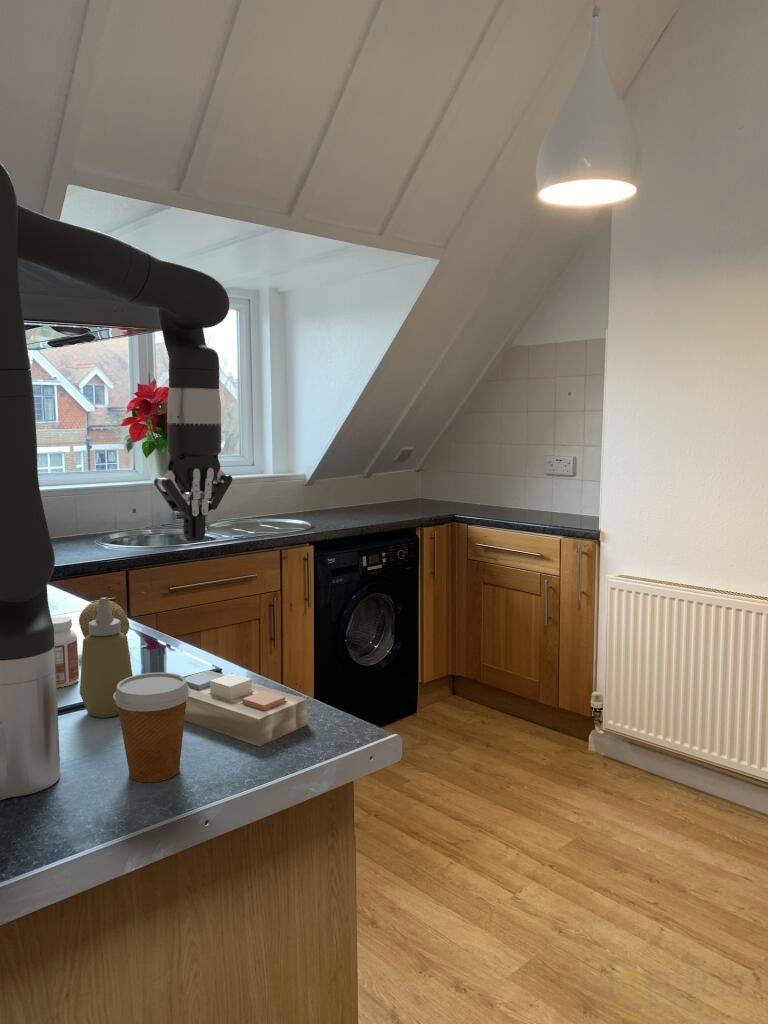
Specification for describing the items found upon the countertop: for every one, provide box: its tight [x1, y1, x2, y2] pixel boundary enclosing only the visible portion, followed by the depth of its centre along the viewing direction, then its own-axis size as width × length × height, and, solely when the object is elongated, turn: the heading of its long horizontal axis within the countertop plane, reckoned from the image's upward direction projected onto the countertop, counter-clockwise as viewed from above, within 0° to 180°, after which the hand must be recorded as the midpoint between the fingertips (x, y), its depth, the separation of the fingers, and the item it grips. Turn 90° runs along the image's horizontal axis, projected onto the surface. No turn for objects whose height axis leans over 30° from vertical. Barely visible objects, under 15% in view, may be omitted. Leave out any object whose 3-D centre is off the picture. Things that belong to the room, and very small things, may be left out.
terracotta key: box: [243, 691, 285, 711], centre depth 122 cm, size 4×4×3 cm
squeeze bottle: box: [79, 597, 134, 718], centre depth 127 cm, size 8×8×18 cm
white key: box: [210, 673, 253, 701], centre depth 126 cm, size 4×4×3 cm
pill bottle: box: [51, 616, 80, 689], centre depth 141 cm, size 6×6×11 cm
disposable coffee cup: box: [113, 671, 190, 783], centre depth 107 cm, size 10×10×12 cm
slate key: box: [184, 671, 219, 691], centre depth 130 cm, size 4×4×3 cm
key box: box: [184, 669, 308, 747], centre depth 126 cm, size 10×22×4 cm, turn 53°
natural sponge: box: [78, 599, 130, 638], centre depth 159 cm, size 9×9×10 cm
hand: (194, 540), depth 120 cm, fingers closed
